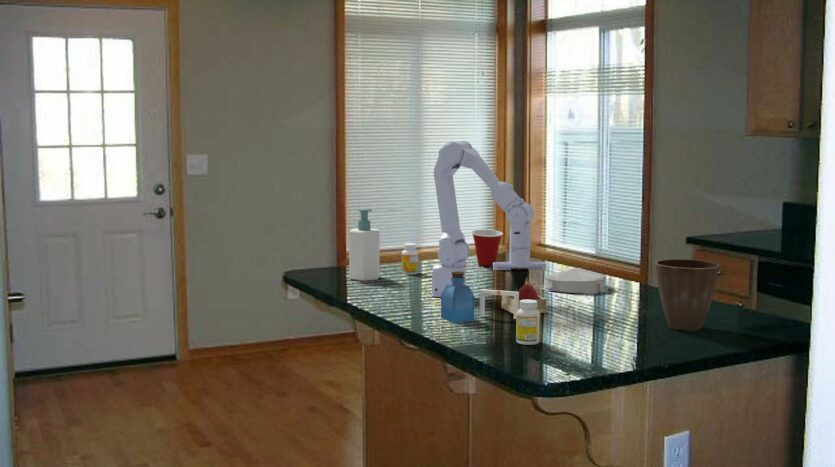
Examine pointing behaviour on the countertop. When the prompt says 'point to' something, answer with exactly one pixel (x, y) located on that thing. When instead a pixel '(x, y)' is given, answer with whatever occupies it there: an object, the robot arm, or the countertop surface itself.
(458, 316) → the perfume bottle
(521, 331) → the supplement bottle
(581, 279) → the food container
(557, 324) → the countertop surface
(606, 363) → the countertop surface
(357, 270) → the soap bottle
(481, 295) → the white goalpost frame
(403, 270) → the supplement bottle
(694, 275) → the plant pot
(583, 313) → the countertop surface
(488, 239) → the plastic cup
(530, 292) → the onion
